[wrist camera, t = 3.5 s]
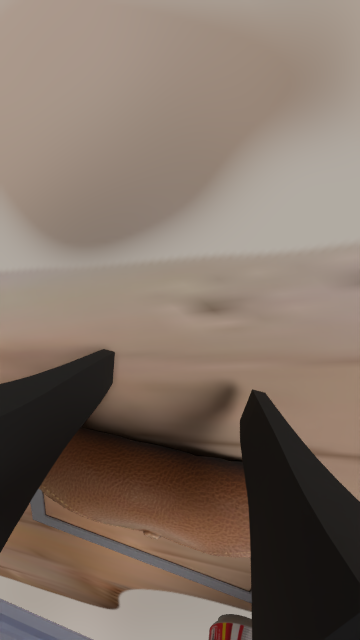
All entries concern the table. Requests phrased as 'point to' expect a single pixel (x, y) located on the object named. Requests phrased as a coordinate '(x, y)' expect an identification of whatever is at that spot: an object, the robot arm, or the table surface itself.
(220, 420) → the table surface
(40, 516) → the taped bay
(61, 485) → the sunglasses case
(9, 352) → the table surface
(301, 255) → the table surface
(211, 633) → the soda can
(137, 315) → the table surface
